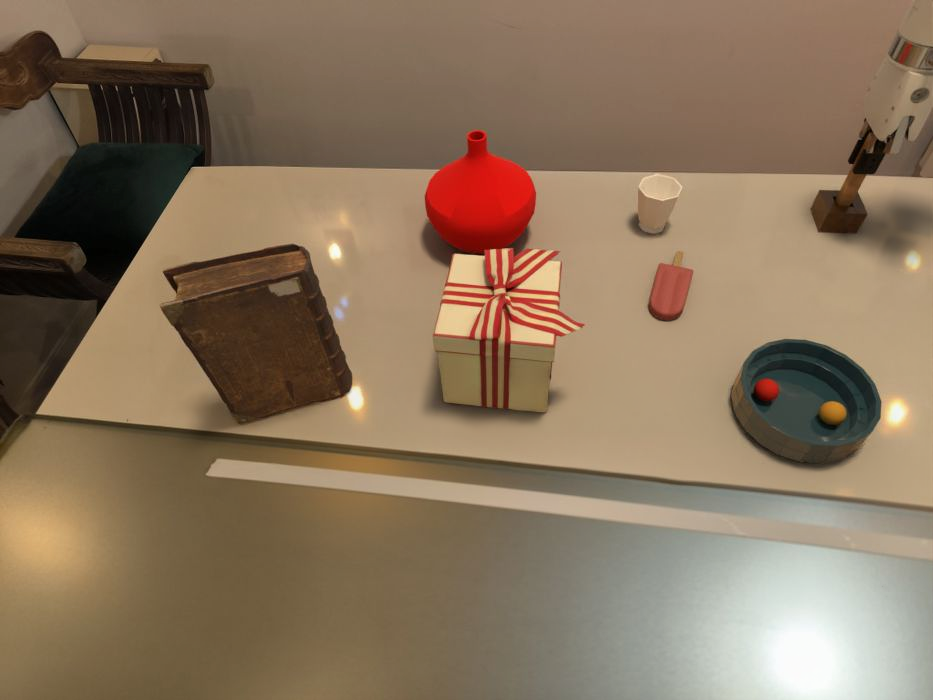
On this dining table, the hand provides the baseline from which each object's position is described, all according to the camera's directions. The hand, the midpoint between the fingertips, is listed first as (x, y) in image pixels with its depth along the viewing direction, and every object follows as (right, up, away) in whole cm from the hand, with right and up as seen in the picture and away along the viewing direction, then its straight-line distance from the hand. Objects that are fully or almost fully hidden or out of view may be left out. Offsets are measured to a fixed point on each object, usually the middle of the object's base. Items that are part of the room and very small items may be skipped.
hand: (860, 167), depth 94 cm
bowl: (-18, -36, -14) cm, 43 cm away
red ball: (-22, -34, -14) cm, 42 cm away
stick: (+1, -7, +8) cm, 11 cm away
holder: (+1, -7, +8) cm, 11 cm away
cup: (-29, -6, +11) cm, 32 cm away
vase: (-58, -8, +12) cm, 60 cm away
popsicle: (-29, -19, +1) cm, 34 cm away
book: (-85, -35, -7) cm, 93 cm away
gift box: (-55, -31, -6) cm, 63 cm away
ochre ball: (-15, -36, -17) cm, 43 cm away
